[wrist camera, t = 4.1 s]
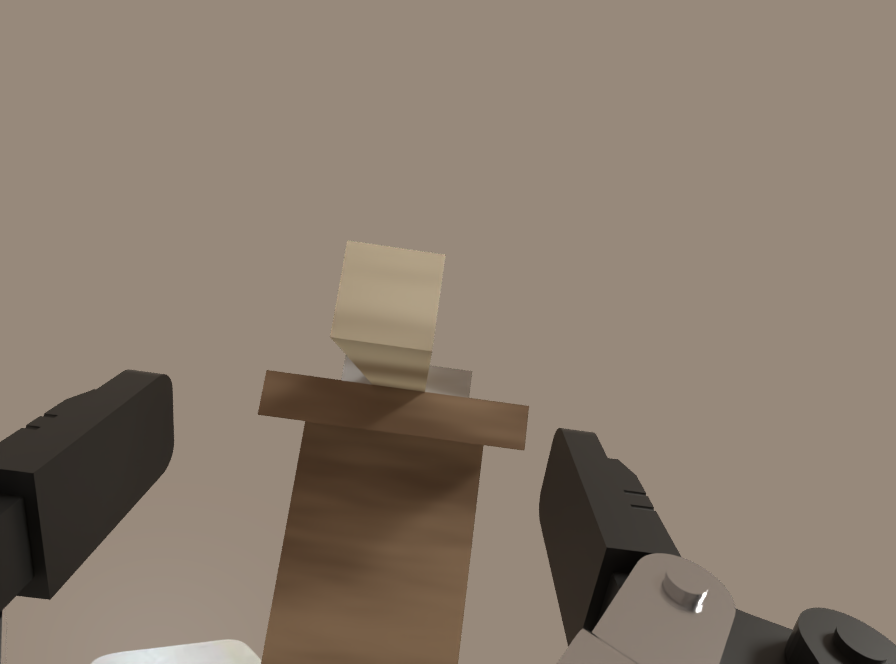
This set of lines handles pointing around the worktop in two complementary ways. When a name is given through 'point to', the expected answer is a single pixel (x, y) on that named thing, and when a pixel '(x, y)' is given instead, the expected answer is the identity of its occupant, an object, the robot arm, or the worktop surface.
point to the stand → (379, 519)
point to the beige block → (392, 319)
